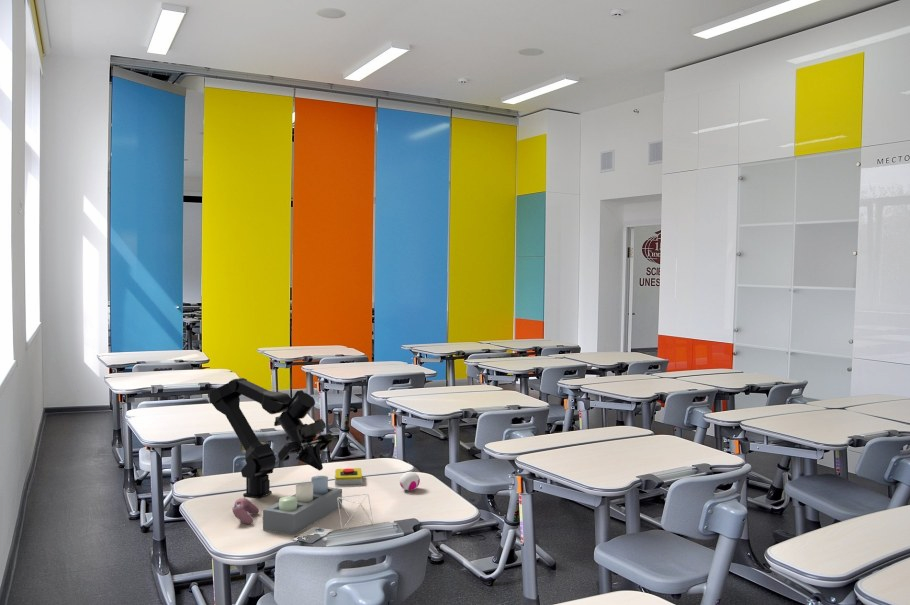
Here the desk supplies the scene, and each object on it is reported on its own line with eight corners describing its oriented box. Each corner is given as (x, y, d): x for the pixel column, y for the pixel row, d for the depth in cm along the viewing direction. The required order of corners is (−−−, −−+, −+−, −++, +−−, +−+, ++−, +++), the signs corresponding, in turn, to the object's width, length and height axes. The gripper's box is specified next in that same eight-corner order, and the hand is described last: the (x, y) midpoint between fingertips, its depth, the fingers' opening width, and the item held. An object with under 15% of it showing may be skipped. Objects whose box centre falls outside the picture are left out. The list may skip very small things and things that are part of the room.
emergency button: (334, 475, 228) (334, 463, 243) (334, 488, 228) (334, 476, 243) (363, 474, 230) (361, 462, 245) (363, 487, 230) (361, 475, 245)
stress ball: (407, 503, 222) (416, 488, 220) (391, 486, 226) (400, 471, 223) (421, 496, 229) (430, 482, 226) (405, 479, 232) (414, 465, 230)
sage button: (275, 519, 189) (275, 500, 189) (285, 514, 194) (285, 495, 194) (290, 522, 187) (290, 502, 187) (300, 516, 192) (300, 497, 192)
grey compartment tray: (262, 529, 188) (262, 509, 188) (313, 503, 212) (313, 485, 211) (294, 534, 185) (294, 514, 184) (341, 507, 208) (342, 489, 208)
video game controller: (246, 518, 201) (235, 497, 201) (260, 511, 202) (249, 490, 201) (239, 531, 192) (227, 508, 191) (254, 523, 192) (242, 501, 191)
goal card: (292, 540, 181) (292, 538, 181) (313, 528, 190) (313, 525, 190) (312, 543, 178) (312, 541, 178) (332, 531, 188) (332, 528, 188)
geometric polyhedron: (334, 520, 196) (334, 494, 196) (365, 516, 200) (365, 490, 200) (344, 533, 187) (344, 505, 186) (376, 528, 190) (376, 501, 190)
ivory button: (292, 504, 197) (292, 486, 196) (302, 499, 201) (302, 481, 201) (306, 506, 195) (307, 488, 195) (316, 501, 199) (316, 483, 199)
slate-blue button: (308, 496, 204) (308, 479, 204) (317, 492, 209) (317, 474, 208) (322, 498, 202) (322, 480, 202) (330, 494, 207) (330, 476, 207)
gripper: (285, 416, 199) (313, 459, 194) (329, 406, 215) (356, 446, 210) (265, 440, 204) (292, 483, 198) (310, 429, 220) (337, 468, 214)
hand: (321, 469), depth 205 cm, fingers closed
